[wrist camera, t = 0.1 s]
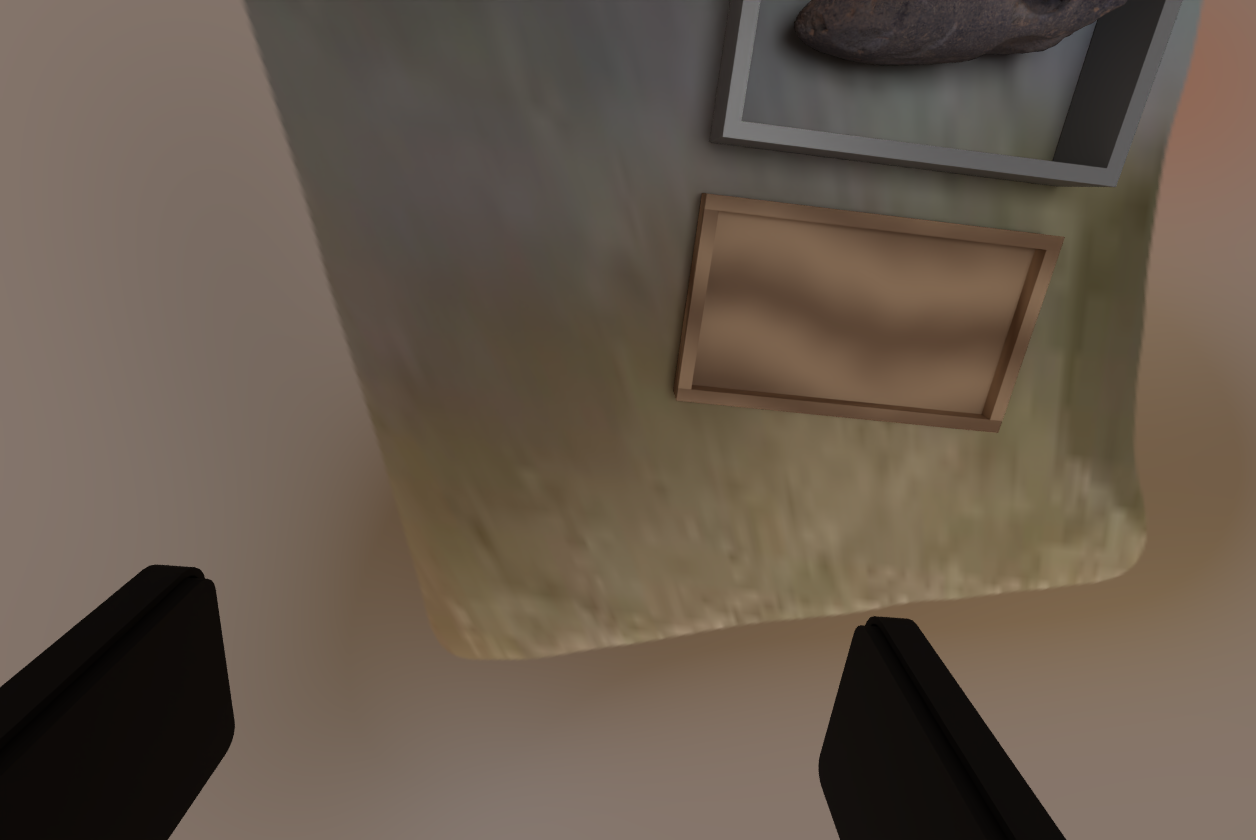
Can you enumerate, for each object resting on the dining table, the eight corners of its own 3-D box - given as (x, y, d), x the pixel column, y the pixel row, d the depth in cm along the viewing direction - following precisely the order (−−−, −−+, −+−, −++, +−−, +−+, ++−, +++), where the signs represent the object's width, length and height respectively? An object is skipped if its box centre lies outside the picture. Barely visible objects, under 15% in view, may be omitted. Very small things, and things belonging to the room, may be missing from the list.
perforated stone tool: (780, 86, 35) (819, 64, 28) (780, -27, 33) (822, -78, 26) (1054, 60, 35) (1156, 32, 28) (1069, -55, 33) (1182, -114, 26)
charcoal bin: (757, -186, 31) (780, -246, 26) (1159, -122, 32) (1242, -168, 28) (709, 142, 36) (722, 136, 31) (1058, 186, 37) (1115, 186, 33)
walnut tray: (701, 193, 36) (706, 193, 35) (1042, 234, 38) (1064, 237, 36) (673, 390, 41) (676, 400, 39) (981, 421, 42) (998, 432, 40)
